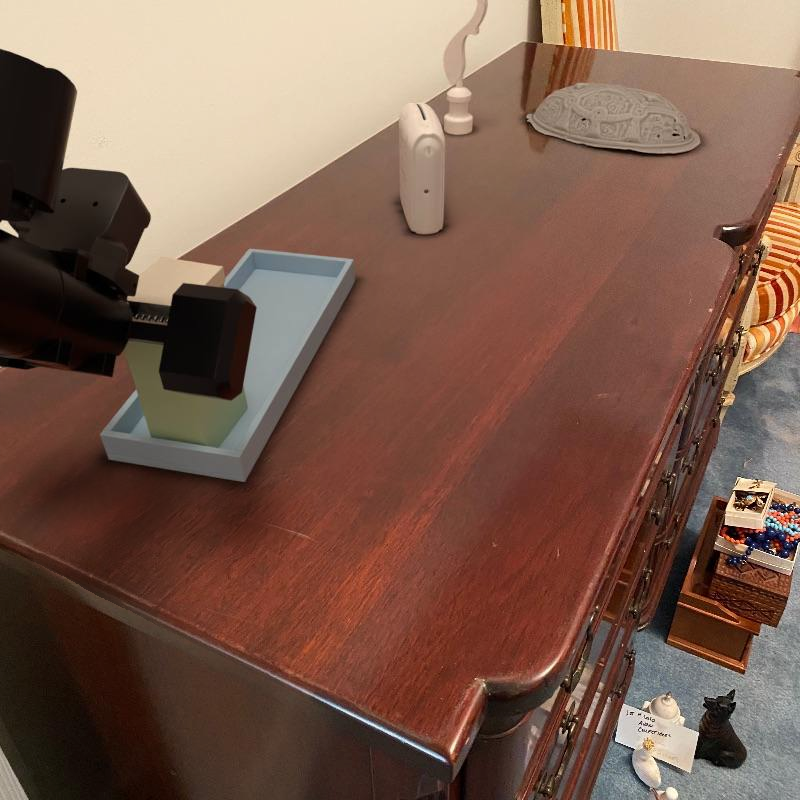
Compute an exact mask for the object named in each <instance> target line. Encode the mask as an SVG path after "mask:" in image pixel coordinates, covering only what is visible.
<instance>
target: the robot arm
mask: <svg viewBox="0 0 800 800" xmlns="http://www.w3.org/2000/svg"><path fill="white" fill-rule="evenodd" d="M77 97H78V89H77V87H76V84H75V83H73V82H72V81H71V79H70V78H69V77H68V76H67V75H66V74H64V72H62V71H61V70H59V69H58V68H57V69H56V68H53V67H46V66H45V65H43V64H40V63H39V62H37V61H35V60H32V59H30V58H28V57H25V56H23V55H20V54H18V53H15V52H12V51H9V50H6V49H2V48H0V224H1V223H2V222H3V221H4V222H7V223H8V225H9V226H10V227H11V228H12V229H13V230H14V231H15V233H16V234H17V236H16V235H14V234H12V233H10V232H9V231H6V230H4V229H1V228H0V368H4V369H7V368H10V369H17V370H25V371H26V370H27V371H28V370H31V369H35V368H44V369H50V370H51V369H52V370H58V371H66V372H73V373H80V374H87V375H92V376H99V377H107V378H113V376H114V371H115V366H116V361H117V357H119V356H121V355H122V353H123V352H124V349H125V347H126V345H127V343H128V341H136V342H143V343H151V344H158V345H163V350H162V356H161V361H160V366H159V374H160V378H161V382H162V385H163V389H164V390H168V391H172V392H178V393H183V394H188V395H195V396H202V397H208V398H215V399H222V400H229V401H232V400H233V399H234V398H236V397H237V396H238V395H240V394H241V393H242V389H243V384H244V378H245V372H246V367H247V361H248V355H249V349H250V344H251V338H252V332H253V326H254V321H255V315H256V309H257V307H256V306H255V304H254V303H253V301H252V300H251V298H250V297H249V296H247V295H246V294H244V293H242V292H241V291H239V290H238V289H231V288H223V287H214V286H206V285H197V284H188V283H183V284H182V285H181V286H180V287H179V288H178V289H177V290H176V291H175V292H174V294H173V296H172V301H171V306H168V305H160V304H152V303H144V302H136V301H128V300H127V298H128V296H133V297H134V296H135V295H136V291H137V286H138V280H139V276H140V275H139V274H138V273H136V272H134V271H132V270H130V269H129V268H126V267H127V266H128V265H129V264H130V263H131V261H132V259H133V258H134V254H135V252H136V251H137V248H138V246H139V243H140V241H141V238H142V237H143V234H144V232H145V229H148V228H149V225H150V223H151V221H152V220H151V219H152V216H151V211H150V210H149V209H148V208H147V206H146V204H145V203H144V201H143V200H142V198H141V196H140V195H139V193H138V191H137V189H136V188H135V187H134V185H133V183H132V181H131V179H130V178H129V177H128V176H127V175H126V174H125V173H124V172H121V171H117V170H105V169H92V168H82V167H81V168H80V167H67V168H64V164H65V159H66V154H67V149H68V144H69V137H70V133H71V127H72V122H73V118H74V112H75V107H76V102H77ZM133 317H134V319H136V320H138V319H139V317H140V319H141V320H145V318H146V320H147V321H151V320H152V321H154V322H157V321H159V322H161V323H163V322H164V320H165V323H167V325H161V324H153V323H145V322H137V321H133V319H132V318H133Z"/></svg>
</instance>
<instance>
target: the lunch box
mask: <svg viewBox="0 0 800 800" xmlns="http://www.w3.org/2000/svg"><path fill="white" fill-rule="evenodd" d="M225 278H226V275H225V271H224V266H222V265H217V264H216V265H215V264H210V263H203V262H197V261H191V260H185V259H178V258H171V257H165V256H161V257H159V258H158V259H157V260H156V261H154V263H152V264H151V265H150V266H149V267H148V268H147V269H146V270H144V271H143V272H142V273H141V274H140V275H139V280H138V286H137V291H136V295H135V296H134V297H133V296H128V298H127V300H128V301H136V302H144V303H152V304H160V305H168V306H171V301H172V296H173V294H174V292H175V291H176V290H177V289H178V288H179V287H180V286H181V285H182V284H183V283H188V284H197V285H206V286H214V287H223V288H225V286H224V282H225V281H226V280H225ZM132 319H133V321H137V322H145V323H153V324H161V325H167V323H165V320H164V322H163V323H161V322H159V321H157V322H154V321H152V320H151V321H147V320H146V318H145V320H141V319H140V317H139V319H138V320H136V319H134V317H133V318H132ZM162 350H163V345H158V344H151V343H143V342H136V341H128V343H127V345H126V347H125V349H124V350H123V352H124V354H125V358H126V361H127V364H128V368H129V371H130V373H131V378H132V380H133V383H134V387H135V390H137V393H138V397H139V400H140V403H141V406H142V410H143V413H144V416H145V419H146V423H147V426H148V429H149V432H150V436H151V437H152V438H159V439H165V440H171V441H177V442H184V443H190V444H196V445H202V446H209V447H215V448H219V446H220V445H221V444H222V442H223V441H224V439H225V438H226V437H227V435H228V434H229V433H230V431H231V430H232V429H233V427H234V426H235V425H236V423H237V422H238V421H239V419H240V418H241V416H242V415H243V414H244V412H245V411H246V410H247V408H248V406H247V401H246V396H245V390H244V385H243V389H242V393H241V394H240V395H238V396H237V397H236V398H234V399H233V400H232V401H229V400H222V399H215V398H208V397H202V396H195V395H188V394H183V393H178V392H172V391H168V390H164V389H163V385H162V382H161V378H160V374H159V366H160V361H161V356H162Z"/></svg>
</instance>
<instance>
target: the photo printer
mask: <svg viewBox="0 0 800 800" xmlns="http://www.w3.org/2000/svg"><path fill="white" fill-rule="evenodd" d="M398 139H399V140H398V142H399V143H398V144H399V145H398V146H399V147H398V149H399V151H398V152H399V153H398V154H399V195H400V196H399V198H400V205H401V207H402V211H403V214H404V217H405V220H406V224H407V226H408V228H409V230H410V231H411V232H414V233H415V234H418V235H433V234H436V233H438V232H439V231H440V230H442V229H443V227H444V219H445V218H444V217H445V187H446V186H445V185H446V182H445V180H446V137H445V133H444V129H443V127H442V124H441V122H440V119H439V117H438V115H437V113H436V112H435V111H434V109H433V108H432V107H431V106H430V105H428V104H427V103H426V102H423V101H419V102H409V103H407V104H406V105H405V106H404V107H403V108H402V109H401V111H400V114H399V117H398Z"/></svg>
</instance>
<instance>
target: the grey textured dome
mask: <svg viewBox="0 0 800 800" xmlns="http://www.w3.org/2000/svg"><path fill="white" fill-rule="evenodd" d="M525 118H526V119H527V120H526V121H527V123H528V122H529V123H530V124H531V125H532V127H533V128H534V129H535V131H537V132H539V133H541V134H543V135H546V136H550V137H555V138H559V139H562V140H565V141H568V142H571V143H574V144H578V145H585V146H590V147H595V148H596V147H597V148H602V149H603V148H605V149H606V148H607V149H615V150H617V149H619V150H632V151H636V152H639V153H640V152H641V153H644V154H645V153H647V154H663V155H664V154H680V153H685V152H689V151H691V150H693V149H695V148H697V147H698V146H700V144H701V139H700V136H699V134H698V133H697V132H695V130H693V129H691V127H690V125H689V124H688V122H687V118H686V116H685V115H684V114H683V113H682V111H680V110H679V109H678V108H677V106H676V105H674V104H673V103H671V102H670V101H669V100H667V99H666V98H664V97H663V96H662V95H660V94H659V93H657V92H650V91H647V90H643V89H640V88H636V87H628V86H623V85H621V84H610V83H599V82H598V83H597V82H596V83H592V82H590V83H586V82H577V83H575V84H574V85H571V86H567V87H563V88H561V89H556V90H554V91H553V92H552V93H550V94H549V95H548V96H547V97H545V98H544V99H543V101H542V102H541V103H540V104H539V106H538V107H536V109H535V112H534V113H528V114H527V115H526V116H525ZM583 119H585V120H583ZM673 134H676V135H675V136H674V135H673Z"/></svg>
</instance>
